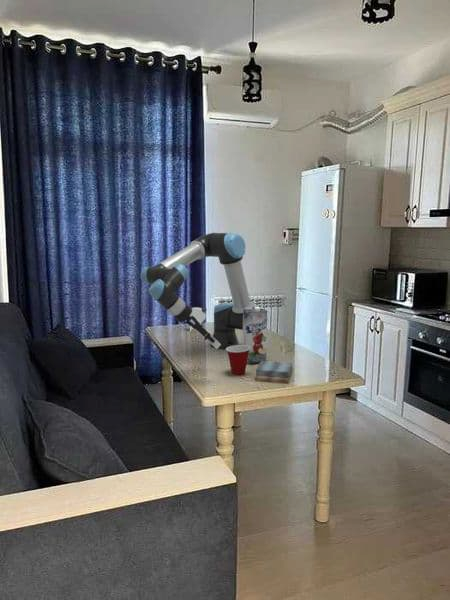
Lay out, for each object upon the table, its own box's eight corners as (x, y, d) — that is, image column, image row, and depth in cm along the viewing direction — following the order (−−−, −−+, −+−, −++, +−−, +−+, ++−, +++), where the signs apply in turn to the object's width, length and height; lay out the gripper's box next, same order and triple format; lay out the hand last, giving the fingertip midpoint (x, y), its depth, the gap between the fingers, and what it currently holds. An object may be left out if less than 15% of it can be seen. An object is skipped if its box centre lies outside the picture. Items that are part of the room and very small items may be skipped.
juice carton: (240, 360, 225) (241, 305, 220) (259, 358, 229) (260, 304, 225) (248, 365, 217) (249, 308, 212) (268, 362, 221) (269, 307, 216)
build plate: (254, 380, 195) (254, 371, 194) (262, 367, 214) (262, 358, 213) (288, 383, 191) (288, 374, 191) (292, 369, 211) (292, 361, 210)
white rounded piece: (208, 329, 291) (208, 306, 289) (203, 333, 280) (203, 309, 278) (190, 328, 294) (189, 305, 291) (184, 332, 283) (184, 308, 280)
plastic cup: (224, 370, 209) (224, 344, 207) (248, 369, 210) (248, 344, 208) (226, 377, 199) (226, 350, 197) (251, 377, 199) (252, 350, 198)
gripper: (168, 311, 204) (201, 342, 210) (179, 322, 180) (216, 356, 187) (180, 299, 205) (212, 330, 211) (192, 308, 181) (228, 343, 188)
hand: (214, 342), depth 199 cm, fingers open, 13 cm apart
